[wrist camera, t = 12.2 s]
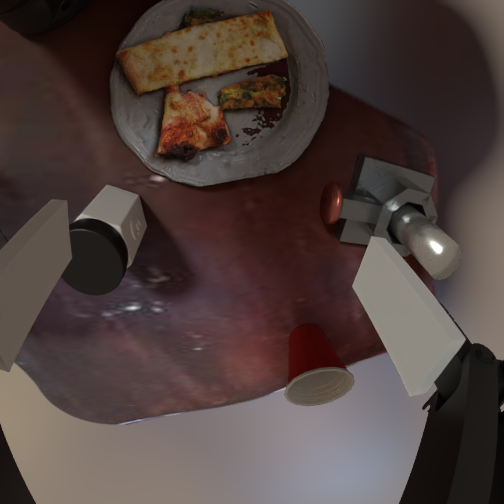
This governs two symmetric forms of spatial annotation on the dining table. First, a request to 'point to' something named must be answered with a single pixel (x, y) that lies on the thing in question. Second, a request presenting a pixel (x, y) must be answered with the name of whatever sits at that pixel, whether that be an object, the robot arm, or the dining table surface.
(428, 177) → the valve body
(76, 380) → the dining table surface
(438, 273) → the pipe stub
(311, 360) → the plastic cup
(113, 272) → the jar
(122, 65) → the food plate
